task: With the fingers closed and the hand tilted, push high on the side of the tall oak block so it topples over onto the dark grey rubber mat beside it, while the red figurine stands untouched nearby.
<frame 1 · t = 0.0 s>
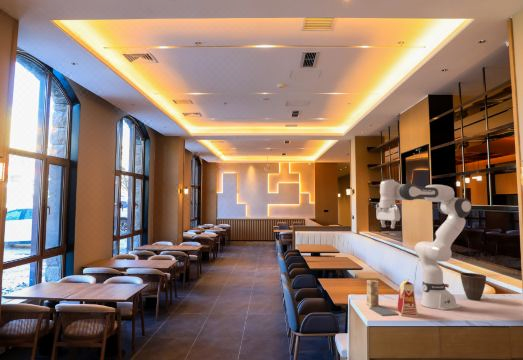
hand: (387, 227, 211), 48 cm above the table, tool pointing down, fingers open, 8 cm apart
mat: (383, 311, 201), on the table
plant pot: (473, 299, 231), on the table
block: (372, 305, 212), on the table
red figurine: (407, 314, 197), on the table
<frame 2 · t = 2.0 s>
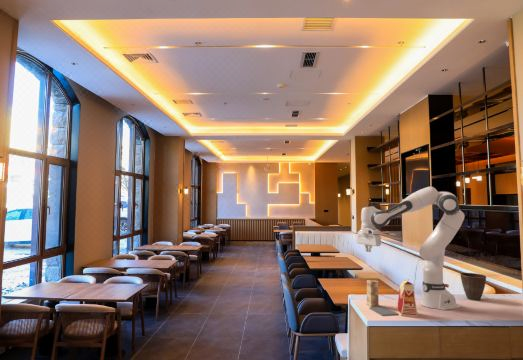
hand: (368, 251, 227), 31 cm above the table, tool pointing down, fingers closed
nothing on the table moved.
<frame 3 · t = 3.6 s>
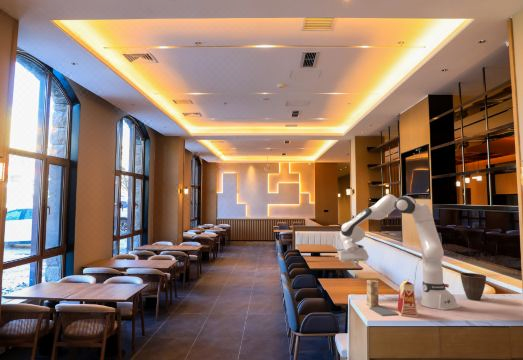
hand: (356, 265, 233), 21 cm above the table, tool tilted 45°, fingers closed
nothing on the table moved.
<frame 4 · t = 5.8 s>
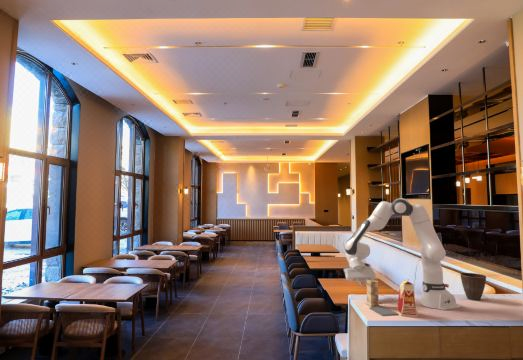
hand: (364, 285, 223), 10 cm above the table, tool tilted 45°, fingers closed
nothing on the table moved.
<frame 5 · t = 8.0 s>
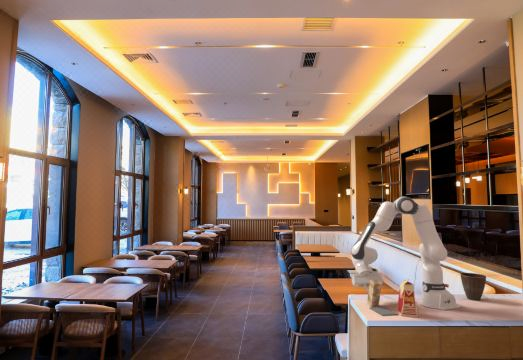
hand: (371, 291, 214), 8 cm above the table, tool tilted 45°, fingers closed
block: (372, 304, 212), point 1 cm above the table, tilted 14°
everything else where it was.
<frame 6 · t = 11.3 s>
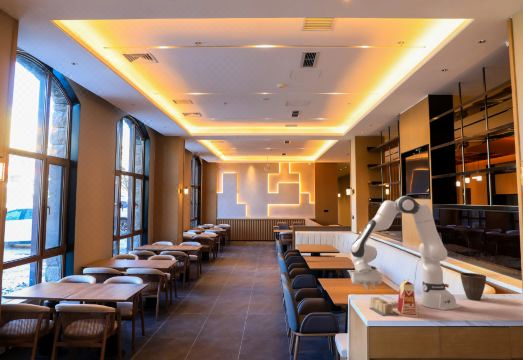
hand: (371, 289, 214), 10 cm above the table, tool tilted 45°, fingers closed
block: (374, 301, 210), point 3 cm above the table, tilted 90°, touching mat
everything else where it was.
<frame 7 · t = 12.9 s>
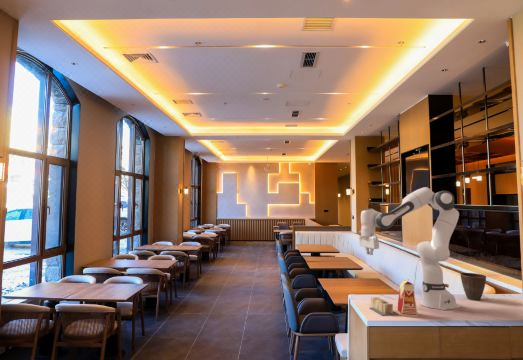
hand: (369, 254, 225), 29 cm above the table, tool pointing down, fingers closed
nothing on the table moved.
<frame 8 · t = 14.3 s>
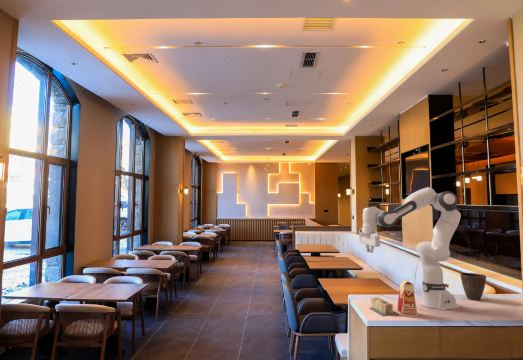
hand: (369, 252, 225), 31 cm above the table, tool pointing down, fingers closed
nothing on the table moved.
at the end: block tilted 90°; block inside the target area (7.2 cm from its centre), point 3.1 cm above the table; the gripper is holding nothing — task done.
